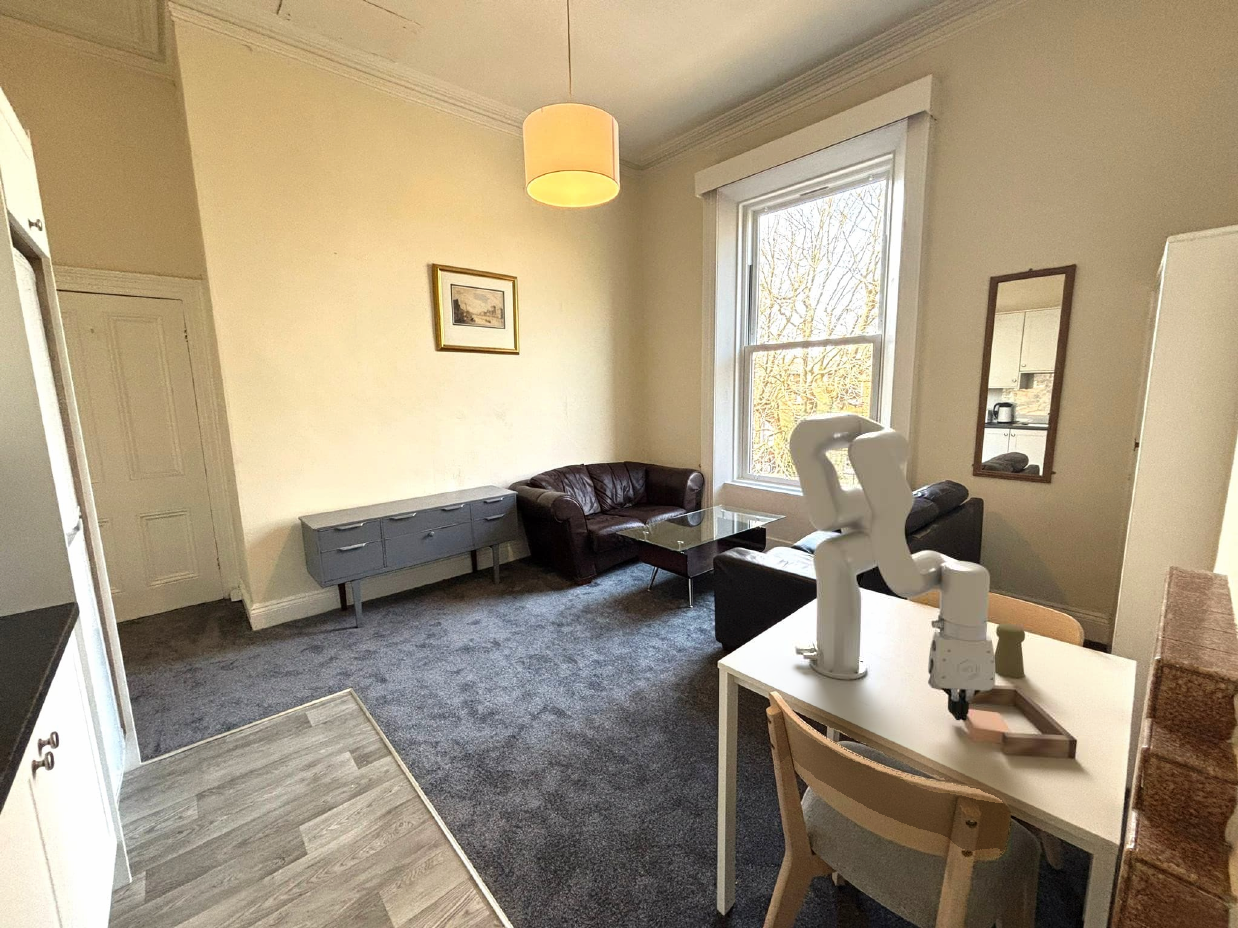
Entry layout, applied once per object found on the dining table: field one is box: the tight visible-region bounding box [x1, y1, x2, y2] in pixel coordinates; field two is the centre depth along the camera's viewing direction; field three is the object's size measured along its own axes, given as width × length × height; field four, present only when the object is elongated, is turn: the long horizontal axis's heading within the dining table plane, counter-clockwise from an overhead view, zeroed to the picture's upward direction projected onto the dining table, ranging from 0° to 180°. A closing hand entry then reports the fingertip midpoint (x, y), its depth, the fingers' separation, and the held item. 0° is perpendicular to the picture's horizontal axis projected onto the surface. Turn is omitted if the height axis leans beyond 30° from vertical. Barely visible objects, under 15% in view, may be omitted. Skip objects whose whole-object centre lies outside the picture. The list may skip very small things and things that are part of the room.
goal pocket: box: [969, 684, 1078, 759], centre depth 98 cm, size 11×16×4 cm
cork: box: [994, 622, 1026, 680], centre depth 116 cm, size 6×6×11 cm
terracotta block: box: [962, 708, 1013, 745], centre depth 97 cm, size 6×6×3 cm
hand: (957, 715), depth 99 cm, fingers closed
